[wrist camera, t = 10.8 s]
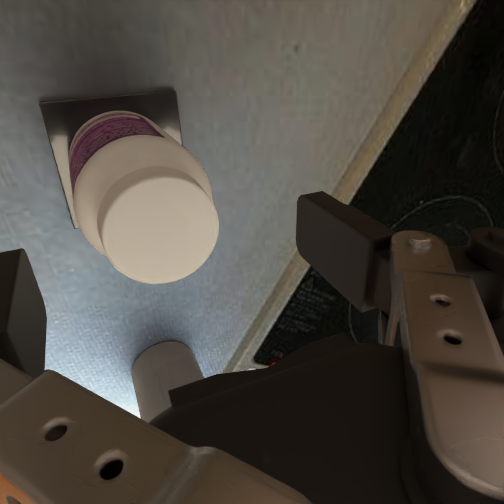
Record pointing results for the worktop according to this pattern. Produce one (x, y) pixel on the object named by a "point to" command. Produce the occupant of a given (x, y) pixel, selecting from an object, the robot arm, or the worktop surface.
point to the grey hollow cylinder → (162, 376)
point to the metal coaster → (83, 109)
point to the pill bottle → (141, 198)
